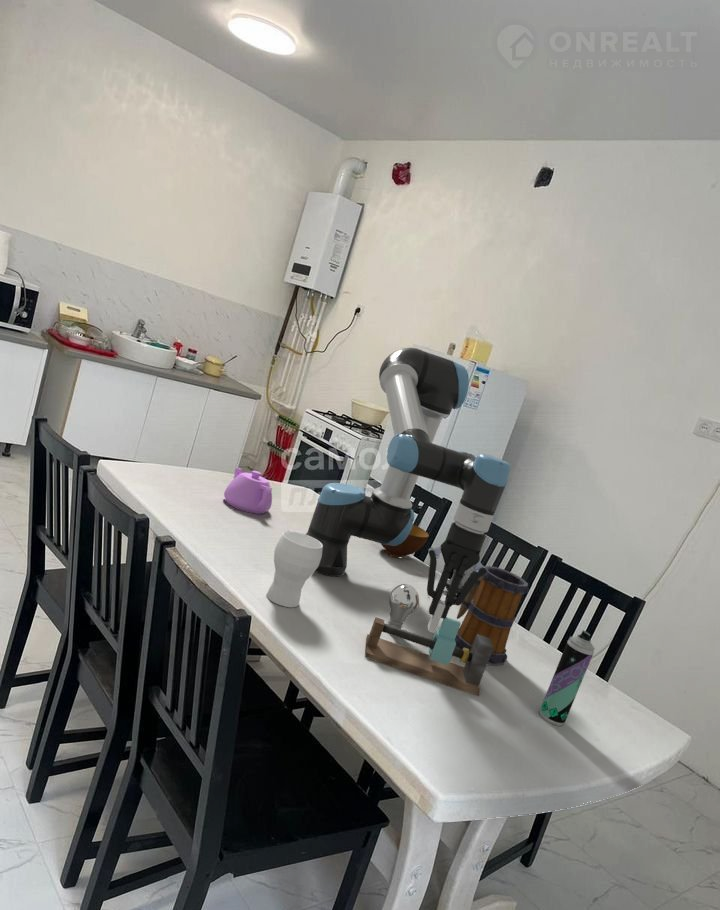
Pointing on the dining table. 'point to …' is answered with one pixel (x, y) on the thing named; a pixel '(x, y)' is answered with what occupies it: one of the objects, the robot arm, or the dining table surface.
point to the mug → (491, 611)
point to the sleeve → (444, 641)
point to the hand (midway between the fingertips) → (431, 629)
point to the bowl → (408, 543)
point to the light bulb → (402, 604)
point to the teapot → (249, 492)
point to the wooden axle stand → (421, 662)
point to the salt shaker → (450, 584)
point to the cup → (293, 567)
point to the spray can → (567, 679)
